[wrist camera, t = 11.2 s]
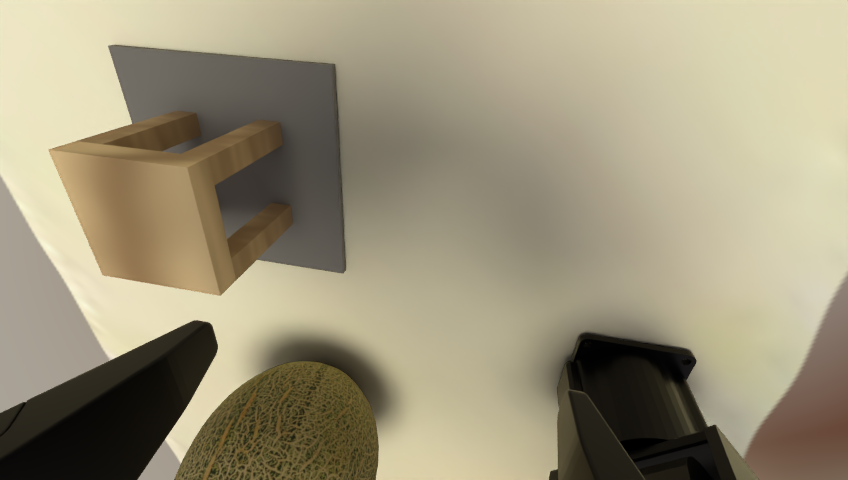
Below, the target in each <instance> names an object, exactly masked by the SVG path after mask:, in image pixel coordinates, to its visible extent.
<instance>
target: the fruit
mask: <svg viewBox="0 0 848 480" xmlns="http://www.w3.org/2000/svg"><path fill="white" fill-rule="evenodd" d="M378 450H379V444H378V435H377V429H376V422H375V418H374V415H373V412H372V409H371V407H370V404H369V402H368V400H367V399H366V397H365V395H364V394H363V392H362V391H361V390H360V388H359V387H358V386H357V384H356V383H355V382H354V381H353V380H352V379H351V378H350V377H349V376H348V375H347V374H345V373H344V372H342V371H341V370H339V369H337V368H335V367H332V366H330V365H326V364H323V363H319V362H309V361H297V362H290V363H285V364H282V365H279V366H276V367H274V368H271V369H269V370H267V371H265V372H263V373H261V374H259V375H257V376H255V377H254V378H252V379H250V380H249V381H247V382H246V383H244V384H243V385H241V386H240V387H239V388H238V389H236V390H235V391H234V392H233V393H232V394H230V395H229V396H228V397H227V398H226V399H225V400H224V401H223V402H222V403H221V404H220V406H219V407H218V408H217V409H216V410H215V411H214V412H213V413H212V414H211V416H210V417H209V418H208V420H207V421H206V422H205V424H204V425H203V426H202V428H201V429H200V431H199V433H198V434H197V436H196V437H195V439H194V441H193V442H192V444H191V446H190V448H189V450H188V451H187V453H186V455H185V457H184V459H183V461H182V463H181V465H180V468H179V470H178V472H177V474H176V477H175V479H174V480H376V473H377V467H378Z"/></svg>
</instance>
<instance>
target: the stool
mask: <svg viewBox="0 0 848 480" xmlns="http://www.w3.org/2000/svg"><path fill="white" fill-rule="evenodd" d="M200 135H201V131H200V127H199V122H198V118H197V114H196V113H193V112H184V111H173V112H170V113H167V114H163V115H160V116H157V117H154V118H150V119H147V120H144V121H141V122H137V123H134V124H131V125H128V126H124V127H121V128H118V129H114V130H111V131H108V132H105V133H101V134H98V135H95V136H92V137H88V138H85V139H82V140H79V141H75V142H72V143H69V144H65V145H62V146H59V147H56V148H52V149H49V153H50V155H51V157H52V160H53V162H54V164H55V166H56V169H57V171H58V173H59V176H60V178H61V180H62V183H63V185H64V187H65V189H66V192H67V194H68V196H69V199H70V201H71V203H72V206H73V208H74V210H75V212H76V215H77V217H78V219H79V222H80V224H81V226H82V229H83V231H84V233H85V235H86V238H87V240H88V242H89V245H90V247H91V249H92V252H93V254H94V256H95V259H96V261H97V263H98V265H99V268H100V270H101V272H102V275H104V276H110V277H116V278H122V279H127V280H133V281H139V282H145V283H151V284H156V285H162V286H168V287H174V288H179V289H185V290H191V291H197V292H202V293H208V294H214V295H220V296H221V295H222V294H223V293H224V292H225V291H226V290H227V289H228V288H229V287H230V286H231V285H232V284H233V283H234V282H235V281H236V280H237V279H238V278H239V277H240V276H241V275H242V274H243V273H244V272H245V271H246V270H247V269H248V268H249V267H250V266H251V265H252V264H253V263H254V262H255V261H256V260H257V259H258V258H259V257H260V256H261V255H262V254H263V253H264V252H265V251H266V250H267V249H268V248H269V247H270V246H271V245H272V244H273V243H274V242H275V241H276V240H277V239H278V238H279V237H280V236H281V235H282V234H283V233H284V232H285V231H286V230H287V229H288V228H289V227H290V226H291V225H292V224H293V218H292V211H291V205H283V204H276V203H271V204H270V205H268V206H267V207H266V208H265V209H263V210H262V211H261V212H260V213H258V214H257V215H256V216H255V217H254V218H252V219H251V220H250V221H249V222H247V223H246V224H245V225H244V226H242V227H241V228H240V229H239V230H238V231H236V232H235V233H234V234H233V235H231V236H230V237H229V238H228V239H227V238H226V234H225V229H224V225H223V221H222V216H221V212H220V207H219V203H218V199H217V194H216V190H215V185H216V184H218V183H220V182H221V181H223V180H225V179H226V178H228V177H230V176H231V175H233V174H235V173H236V172H238V171H240V170H241V169H243V168H245V167H246V166H248V165H250V164H251V163H253V162H255V161H256V160H258V159H260V158H261V157H263V156H265V155H266V154H268V153H270V152H271V151H273V150H275V149H276V148H278V147H280V146H281V145H283V140H282V133H281V125H280V122H277V121H267V120H257V121H254V122H252V123H250V124H247V125H245V126H243V127H241V128H238V129H236V130H234V131H232V132H229V133H227V134H225V135H223V136H220V137H218V138H216V139H213V140H211V141H209V142H207V143H204V144H202V145H200V146H198V147H195V148H193V149H191V150H189V151H186V152H184V153H182V154H177V153H169V152H161V151H164V150H166V149H169V148H171V147H174V146H176V145H179V144H181V143H183V142H186V141H188V140H191V139H193V138H196V137H198V136H200Z"/></svg>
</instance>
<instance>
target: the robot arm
mask: <svg viewBox="0 0 848 480" xmlns="http://www.w3.org/2000/svg"><path fill="white" fill-rule="evenodd" d="M586 342H590V343H586ZM217 350H218V344H217V340H216V337H215V333H214V330H213V326H212V325H211V324H210V323H208V322H203V321H198V320H196V321H192V322H190V323H187V324H185V325H183V326H181V327H179V328H177V329H175V330H173V331H171V332H169V333H167V334H165V335H162V336H160V337H158V338H156V339H154V340H152V341H150V342H148V343H146V344H144V345H142V346H140V347H137V348H135V349H133V350H131V351H129V352H127V353H125V354H123V355H121V356H119V357H117V358H115V359H112V360H110V361H108V362H106V363H104V364H102V365H100V366H98V367H96V368H94V369H92V370H90V371H87V372H85V373H83V374H81V375H79V376H77V377H75V378H73V379H71V380H69V381H67V382H64V383H62V384H61V385H58V386H56V387H54V388H52V389H50V390H48V391H46V392H44V393H41V394H39V395H37V396H35V397H33V398H31V399H29V400H28V401H27V402H23V403H20V404H18V405H16V406H14V407H12V408H10V409H8V410H6V411H4V412H2V413H0V480H137V479H138V478H139V476H140V475H141V473H142V472H143V470H144V469H145V468H146V466H147V465H148V463H149V462H150V460H151V459H152V457H153V456H154V454H155V453H156V452H157V450H158V449H159V447H160V446H161V444H162V443H163V441H164V440H165V438H166V437H167V435H168V434H169V433H170V431H171V430H172V428H173V427H174V425H175V424H176V422H177V421H178V419H179V418H180V417H181V415H182V413H183V412H184V410H185V409H186V407H187V406H188V404H189V402H190V401H191V399H192V397H193V395H194V393H195V392H196V390H197V388H198V386H199V384H200V383H201V381H202V379H203V377H204V375H205V374H206V372H207V370H208V368H209V366H210V365H211V363H212V361H213V359H214V357H215V355H216V353H217ZM683 359H686V360H683ZM695 364H696V359H695V357H694V355H693V353H692V352H690V351H687V350H681V349H675V348H669V347H663V346H657V345H651V344H645V343H639V342H633V341H627V340H621V339H615V338H609V337H603V336H597V335H591V334H584V335H582V336H580V337H579V339H578V342H577V345H576V348H575V351H574V353H573V356H572V359H571V361H568V362H567V363H566V364H565V366H564V369H563V372H562V375H561V378H560V381H559V384H558V387H557V394H558V404H559V412H558V419H557V432H558V469H557V470H553V471H551V472H550V477H549V480H759V479H758V478H757V476H756V475H755V474H754V472H753V471H752V470H751V469H750V467H749V466H748V465H747V464H746V462H745V461H744V460H743V458H742V457H741V456H740V455H739V453H738V452H737V451H736V450H735V448H734V447H733V446H732V445H731V443H730V442H729V441H728V440H727V438H726V437H725V436H724V434H723V433H722V432H721V431H720V429H719V428H718V427H717V426H716V425H713V426H709V427H708V426H707V424H706V422H705V420H704V417H703V415H702V413H701V411H700V409H699V407H698V405H697V402H696V400H695V398H694V396H693V394H692V392H691V390H690V387H689V385H688V383H687V381H686V380H687V378H688V376H689V374H690V373H691V371H692V369H693V367H694V366H695Z"/></svg>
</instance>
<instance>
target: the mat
mask: <svg viewBox="0 0 848 480" xmlns="http://www.w3.org/2000/svg"><path fill="white" fill-rule="evenodd" d="M108 47H109V50H110V53H111V57H112V60H113V63H114V66H115V69H116V73H117V76H118V79H119V82H120V85H121V88H122V92H123V95H124V98H125V101H126V104H127V108H128V111H129V114H130V117H131V120H132V124H134V123H137V122H141V121H144V120H147V119H150V118H154V117H157V116H160V115H163V114H167V113H170V112H173V111H184V112H193V113H196V114H197V118H198V122H199V127H200V131H201V135H200V136H198V137H196V138H193V139H191V140H188V141H186V142H183V143H181V144H179V145H176V146H174V147H171V148H169V149H166V150H164V151H161V152H169V153H177V154H182V153H184V152H186V151H189V150H191V149H193V148H195V147H198V146H200V145H202V144H204V143H207V142H209V141H211V140H213V139H216V138H218V137H220V136H223V135H225V134H227V133H229V132H232V131H234V130H236V129H238V128H241V127H243V126H245V125H247V124H250V123H252V122H254V121H257V120H267V121H277V122H280V125H281V133H282V140H283V145H281V146H280V147H278V148H276V149H275V150H273V151H271V152H270V153H268V154H266V155H265V156H263V157H261V158H260V159H258V160H256V161H255V162H253V163H251V164H250V165H248V166H246V167H245V168H243V169H241V170H240V171H238V172H236V173H235V174H233V175H231V176H230V177H228V178H226V179H225V180H223V181H221V182H220V183H218V184H216V185H215V190H216V194H217V199H218V203H219V207H220V212H221V216H222V221H223V225H224V229H225V234H226V238H227V239H228V238H229V237H230V236H231V235H233V234H234V233H235V232H236V231H238V230H239V229H240V228H241V227H242V226H244V225H245V224H246V223H247V222H249V221H250V220H251V219H252V218H254V217H255V216H256V215H257V214H258V213H260V212H261V211H262V210H263V209H265V208H266V207H267V206H268V205H270V204H271V203H276V204H283V205H291V211H292V218H293V224H292V225H291V226H290V227H289V228H288V229H287V230H286V231H285V232H284V233H283V234H282V235H281V236H280V237H279V238H278V239H277V240H276V241H275V242H274V243H273V244H272V245H271V246H270V247H269V248H268V249H267V250H266V251H265V252H264V253H263V254H262V255H261V256H260V257H259V258H258V259H257V260H262V261H269V262H275V263H281V264H287V265H294V266H300V267H306V268H312V269H319V270H325V271H331V272H337V273H344V272H345V270H346V264H345V246H344V228H343V209H342V191H341V172H340V154H339V135H338V117H337V99H336V80H335V64H326V63H314V62H303V61H291V60H280V59H268V58H257V57H245V56H234V55H222V54H211V53H199V52H188V51H177V50H165V49H154V48H142V47H131V46H119V45H111V46H108Z"/></svg>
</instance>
